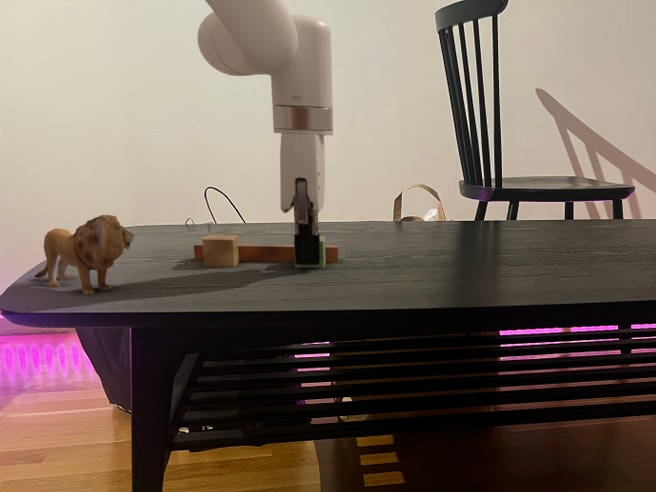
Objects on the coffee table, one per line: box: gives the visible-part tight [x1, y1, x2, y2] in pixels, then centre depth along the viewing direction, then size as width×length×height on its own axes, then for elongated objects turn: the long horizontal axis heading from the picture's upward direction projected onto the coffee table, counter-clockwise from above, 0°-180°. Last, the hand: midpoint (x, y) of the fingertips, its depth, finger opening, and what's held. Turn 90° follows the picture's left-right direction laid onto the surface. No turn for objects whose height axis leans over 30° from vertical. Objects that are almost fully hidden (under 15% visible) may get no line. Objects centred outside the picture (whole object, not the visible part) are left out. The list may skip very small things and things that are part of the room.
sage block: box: [293, 236, 327, 269], centre depth 99 cm, size 4×4×4 cm
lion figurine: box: [34, 214, 135, 295], centre depth 81 cm, size 15×5×9 cm, turn 70°
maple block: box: [201, 234, 241, 268], centre depth 98 cm, size 4×4×4 cm
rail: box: [193, 243, 340, 264], centre depth 101 cm, size 20×1×2 cm, turn 98°
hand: (308, 263), depth 96 cm, fingers closed
